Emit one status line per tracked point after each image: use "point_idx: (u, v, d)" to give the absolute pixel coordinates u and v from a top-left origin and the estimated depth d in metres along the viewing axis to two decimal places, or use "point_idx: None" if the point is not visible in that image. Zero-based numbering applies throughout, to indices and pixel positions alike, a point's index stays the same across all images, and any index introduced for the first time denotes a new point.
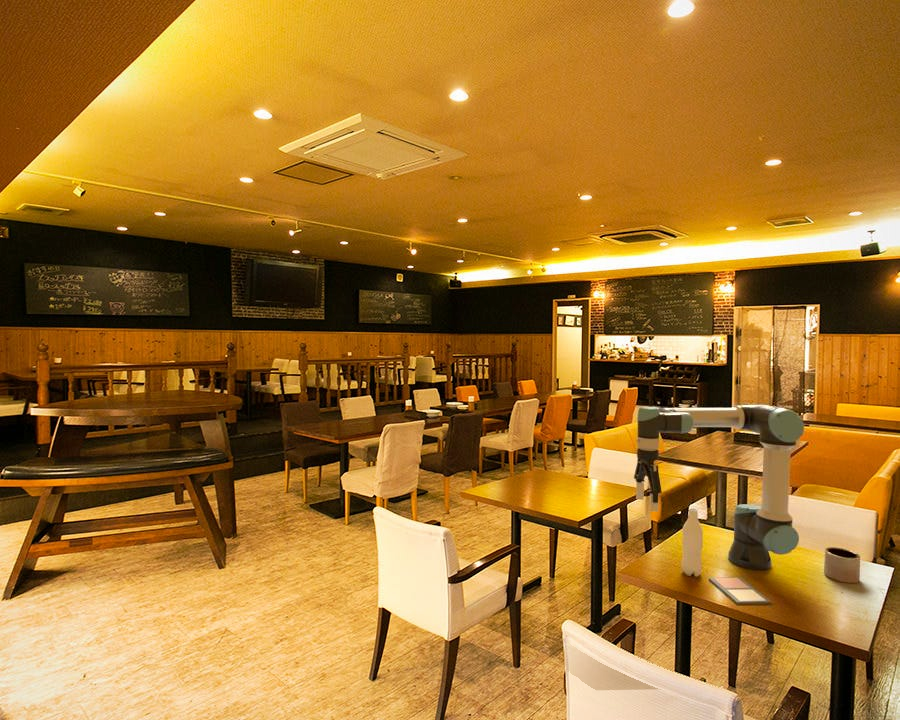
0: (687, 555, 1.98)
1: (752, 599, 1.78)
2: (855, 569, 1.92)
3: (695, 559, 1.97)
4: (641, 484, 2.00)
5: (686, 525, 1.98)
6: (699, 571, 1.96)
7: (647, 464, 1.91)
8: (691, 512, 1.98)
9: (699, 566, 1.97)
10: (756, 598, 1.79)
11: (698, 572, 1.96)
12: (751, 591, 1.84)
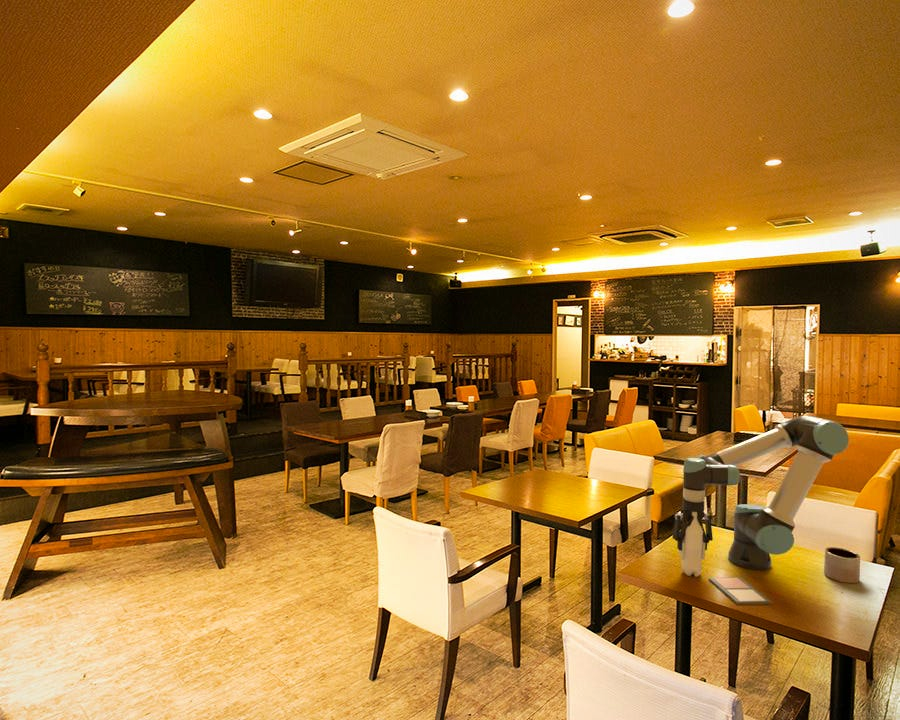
0: (687, 555, 1.98)
1: (752, 599, 1.78)
2: (855, 569, 1.92)
3: (695, 559, 1.97)
4: None
5: None
6: (699, 571, 1.96)
7: None
8: None
9: (699, 566, 1.97)
10: (756, 598, 1.79)
11: (698, 572, 1.96)
12: (751, 591, 1.84)
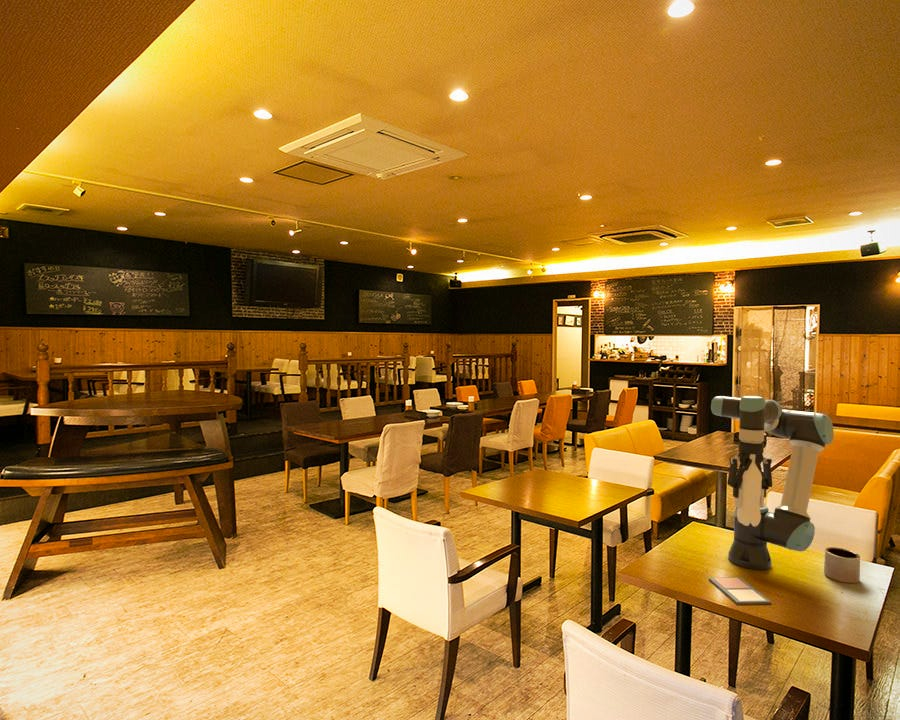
0: (744, 502, 1.78)
1: (752, 599, 1.78)
2: (855, 569, 1.92)
3: (754, 507, 1.77)
4: None
5: None
6: (758, 520, 1.77)
7: None
8: None
9: (758, 514, 1.77)
10: (756, 598, 1.79)
11: (757, 521, 1.77)
12: (751, 591, 1.84)
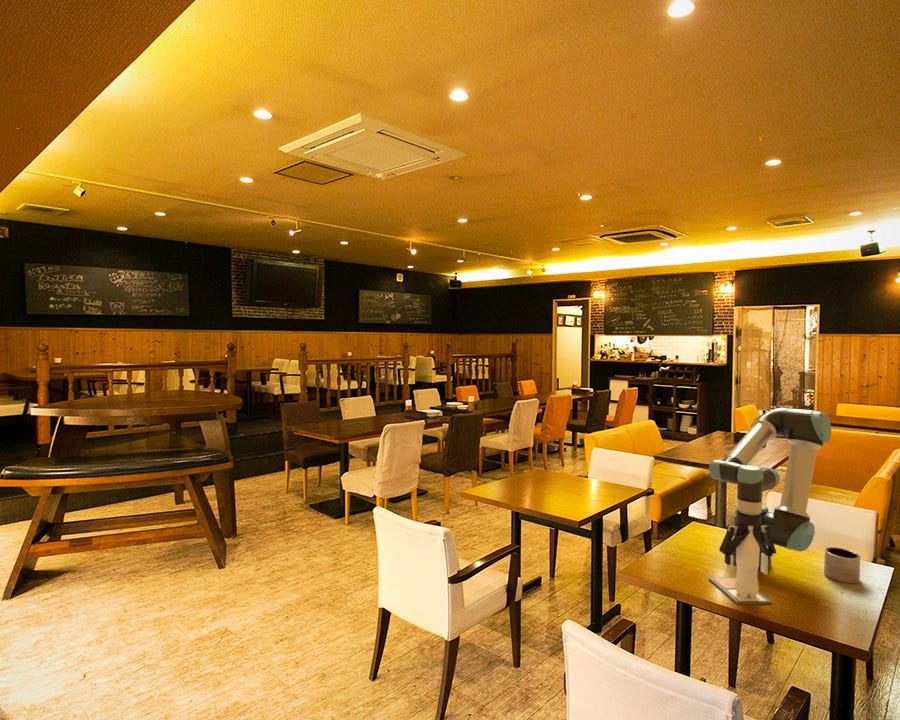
0: (742, 574, 1.79)
1: (752, 599, 1.78)
2: (855, 569, 1.92)
3: (751, 579, 1.79)
4: (764, 556, 1.81)
5: (741, 541, 1.80)
6: (756, 592, 1.78)
7: None
8: None
9: (755, 587, 1.79)
10: (756, 598, 1.79)
11: (755, 593, 1.78)
12: None
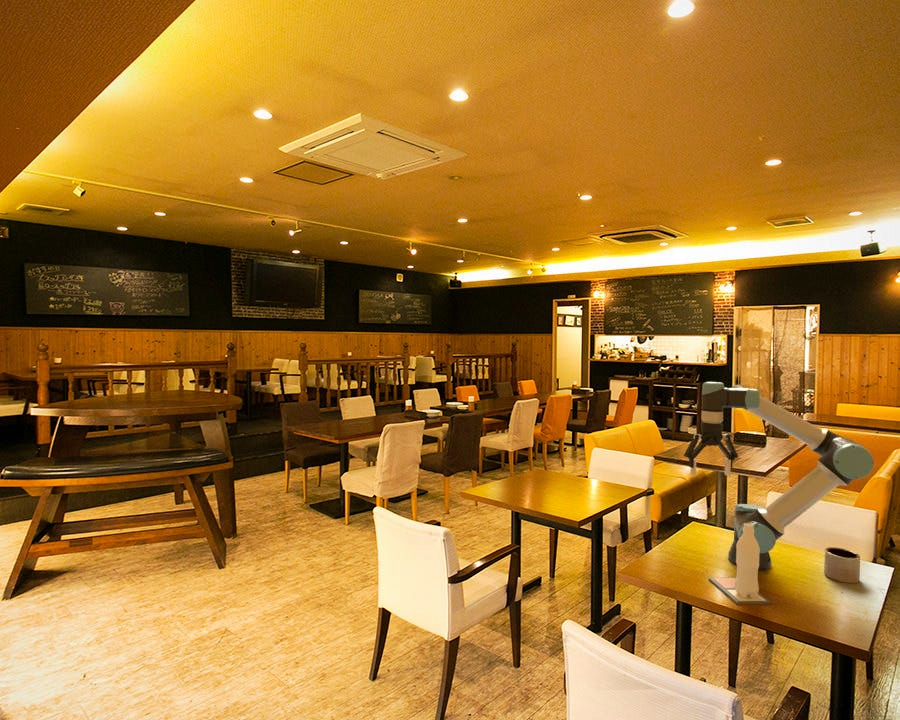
0: (742, 574, 1.79)
1: (752, 599, 1.78)
2: (855, 569, 1.92)
3: (752, 579, 1.79)
4: (727, 460, 2.03)
5: (741, 542, 1.80)
6: (756, 592, 1.78)
7: None
8: (747, 527, 1.80)
9: (755, 587, 1.79)
10: (756, 598, 1.79)
11: (755, 593, 1.78)
12: None
